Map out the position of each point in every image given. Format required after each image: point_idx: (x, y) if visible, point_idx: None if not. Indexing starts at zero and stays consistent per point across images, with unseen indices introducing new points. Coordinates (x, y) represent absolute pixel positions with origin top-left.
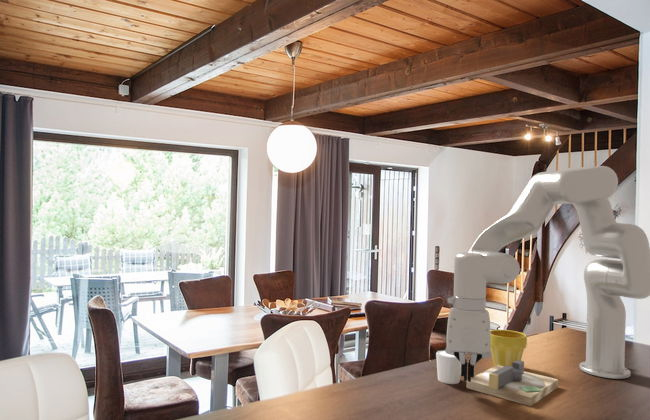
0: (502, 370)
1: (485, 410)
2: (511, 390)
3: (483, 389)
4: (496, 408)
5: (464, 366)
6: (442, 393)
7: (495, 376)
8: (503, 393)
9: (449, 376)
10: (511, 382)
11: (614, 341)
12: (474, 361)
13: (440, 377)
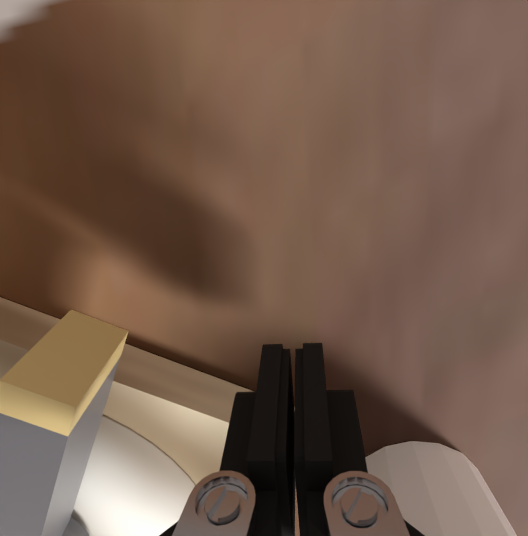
0: (5, 518)
1: (137, 52)
2: (2, 367)
3: (195, 385)
4: (76, 134)
5: (327, 443)
6: (465, 271)
7: (17, 378)
8: None
9: (425, 480)
10: None
11: None
12: (196, 519)
13: (478, 478)
